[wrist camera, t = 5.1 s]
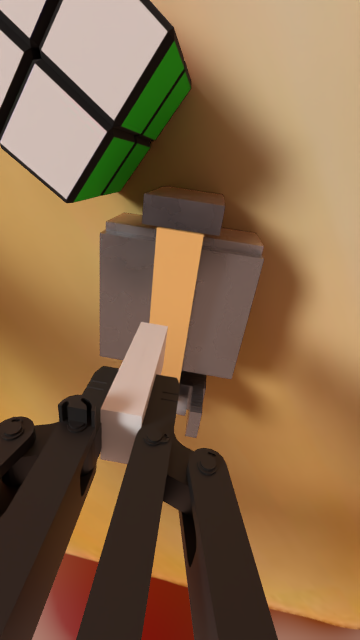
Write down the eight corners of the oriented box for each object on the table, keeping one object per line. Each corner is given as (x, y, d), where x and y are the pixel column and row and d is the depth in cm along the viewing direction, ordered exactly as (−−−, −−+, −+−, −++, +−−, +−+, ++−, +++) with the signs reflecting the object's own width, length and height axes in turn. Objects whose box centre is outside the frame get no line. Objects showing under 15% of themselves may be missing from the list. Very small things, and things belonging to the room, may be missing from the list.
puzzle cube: (84, -36, 20) (-26, -200, 11) (194, 84, 22) (178, 29, 13) (20, 105, 24) (-96, 69, 15) (119, 194, 26) (68, 208, 17)
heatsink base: (118, 360, 34) (89, 417, 27) (125, 179, 25) (83, 185, 17) (220, 378, 34) (220, 442, 26) (264, 200, 25) (285, 216, 17)
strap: (135, 396, 29) (131, 409, 27) (145, 221, 20) (139, 226, 18) (186, 406, 28) (184, 419, 27) (219, 232, 19) (219, 239, 18)
